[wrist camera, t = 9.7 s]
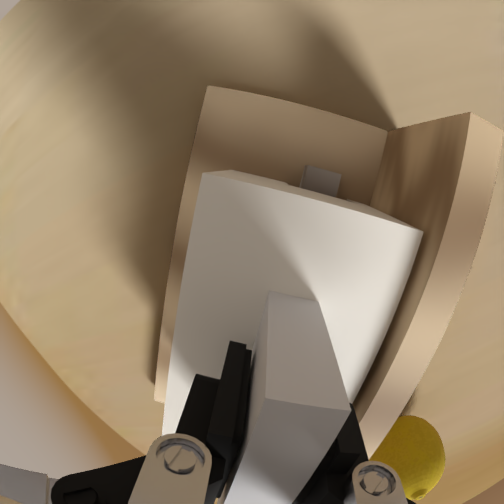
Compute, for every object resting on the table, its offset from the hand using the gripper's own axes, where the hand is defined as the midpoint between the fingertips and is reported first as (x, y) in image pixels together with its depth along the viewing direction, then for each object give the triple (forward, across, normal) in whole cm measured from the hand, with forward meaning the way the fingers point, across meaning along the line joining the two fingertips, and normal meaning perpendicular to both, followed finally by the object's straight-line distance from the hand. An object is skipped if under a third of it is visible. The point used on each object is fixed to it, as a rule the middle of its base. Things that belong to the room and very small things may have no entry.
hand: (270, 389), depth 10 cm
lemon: (+9, -12, +9) cm, 18 cm away
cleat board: (+9, 0, 0) cm, 9 cm away
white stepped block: (+8, 0, 0) cm, 8 cm away
